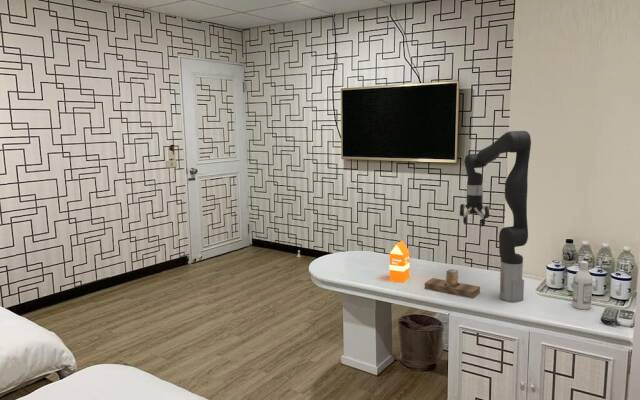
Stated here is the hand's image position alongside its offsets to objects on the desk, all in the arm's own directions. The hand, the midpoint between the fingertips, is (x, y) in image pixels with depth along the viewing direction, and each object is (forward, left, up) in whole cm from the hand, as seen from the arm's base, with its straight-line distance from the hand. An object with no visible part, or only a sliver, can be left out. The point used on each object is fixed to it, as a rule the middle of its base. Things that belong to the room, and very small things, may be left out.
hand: (474, 225), depth 239 cm
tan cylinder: (-10, +21, -28) cm, 36 cm away
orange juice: (+16, +34, -28) cm, 47 cm away
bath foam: (-51, -15, -28) cm, 60 cm away
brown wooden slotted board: (-10, +21, -28) cm, 36 cm away
